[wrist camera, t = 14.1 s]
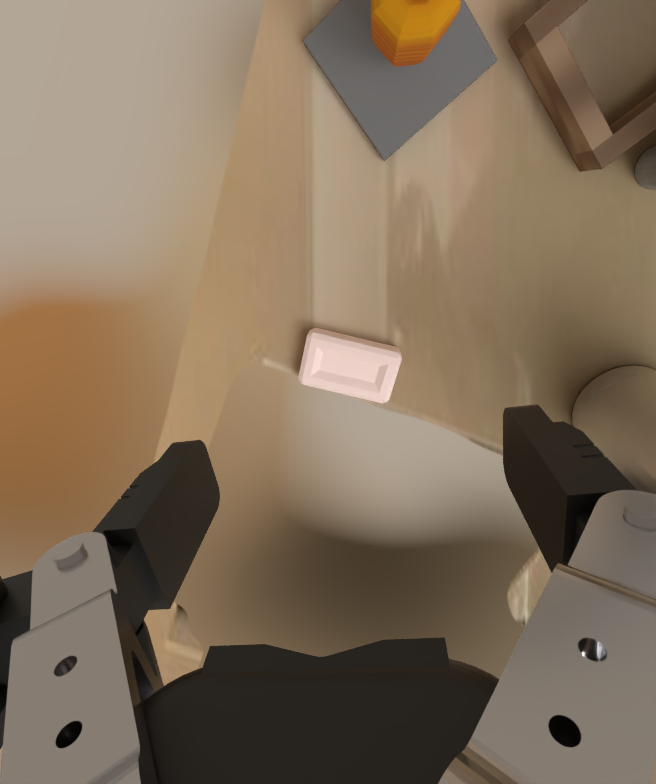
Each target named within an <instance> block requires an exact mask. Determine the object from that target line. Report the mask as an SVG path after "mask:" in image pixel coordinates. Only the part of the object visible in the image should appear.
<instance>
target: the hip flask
mask: <svg viewBox="0 0 656 784" xmlns="http://www.w3.org/2000/svg"><path fill="white" fill-rule="evenodd" d="M635 178H636V180H637V182H638V184H639V185H640V186H642V187H644V188H647V189H653V190H656V145H654V146H652V147H650V148H649V149H647V150H646V151H645V152H644V153H643V154H642V155H641V156H640V158H639V160H638V162H637V164H636V167H635Z"/></svg>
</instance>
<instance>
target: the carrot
mask: <svg viewBox="0 0 656 784" xmlns="http://www.w3.org/2000/svg"><path fill="white" fill-rule="evenodd" d="M460 5H461V0H371V29H372V38H373V42H374V44H375V45H376V47H377V48H378V49H379V50H380V52H381V53H382V54H383V55H384V56H385V57H386V58H387V59H388V61H389V62H390V63H391V64H392V65H393V66H394V67H398V66H409V65H416V64H419V63H421V62H423V61H424V59H425V58H426V57H427V55H428V54H429V53H430V52H431V50H432V49H433V48H434V47H435V45H436V44H437V43H438V42H439V40H440V39H441V38H442V37H443V35H444V34H445V33H446V31H447V30H448V28H449V27H450V25H451V24H452V22H453V21H454V19H455V17H456V15H457V14H458V12H459V10H460Z"/></svg>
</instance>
